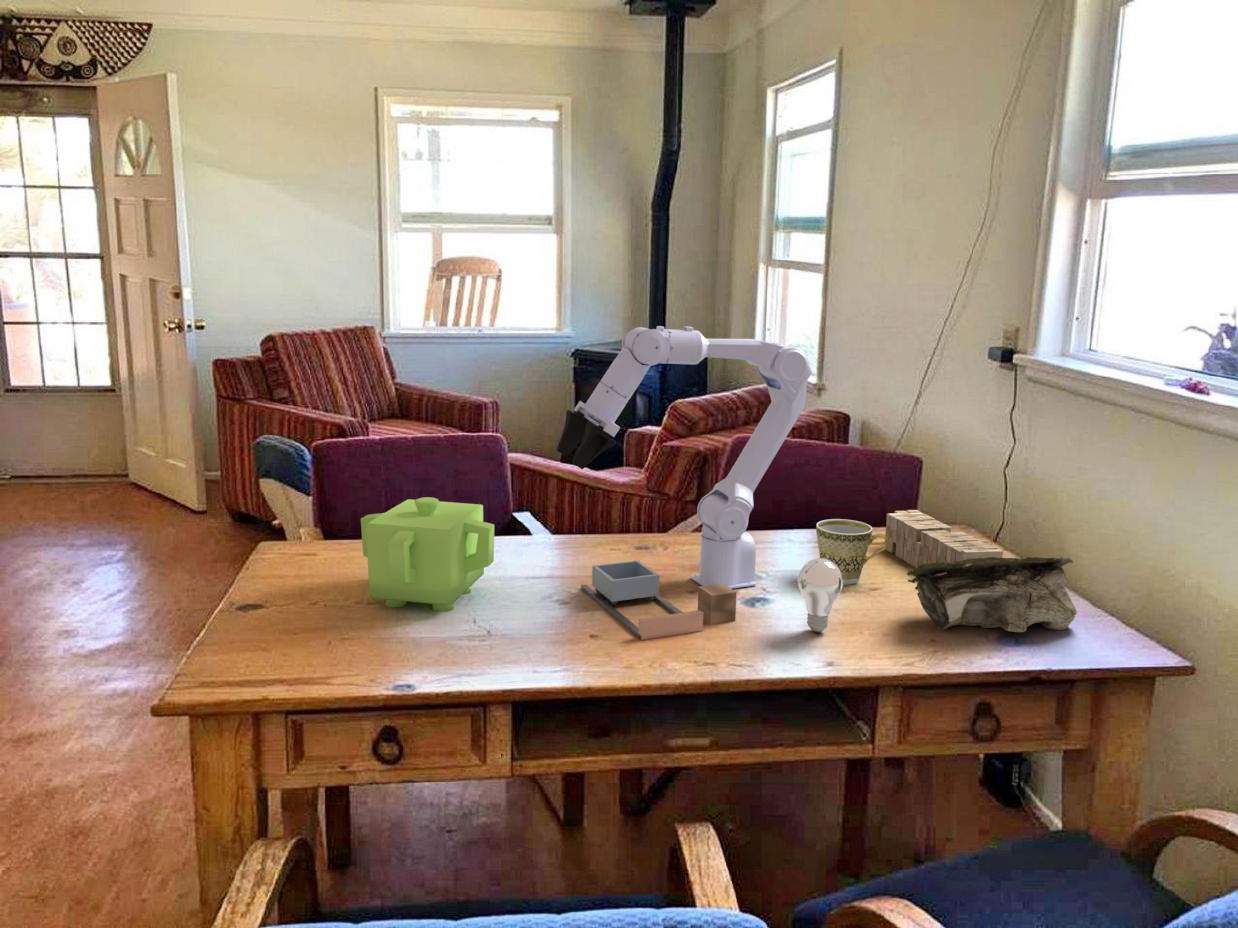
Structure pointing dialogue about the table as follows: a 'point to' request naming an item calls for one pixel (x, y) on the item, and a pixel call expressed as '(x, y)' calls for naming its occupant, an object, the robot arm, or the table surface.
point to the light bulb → (819, 590)
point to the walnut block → (717, 603)
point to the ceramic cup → (846, 545)
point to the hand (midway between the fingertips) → (569, 459)
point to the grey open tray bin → (625, 581)
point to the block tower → (931, 540)
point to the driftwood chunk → (996, 593)
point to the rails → (655, 619)
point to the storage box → (426, 551)
